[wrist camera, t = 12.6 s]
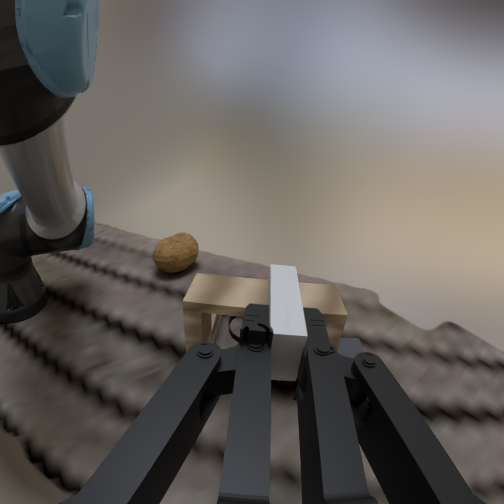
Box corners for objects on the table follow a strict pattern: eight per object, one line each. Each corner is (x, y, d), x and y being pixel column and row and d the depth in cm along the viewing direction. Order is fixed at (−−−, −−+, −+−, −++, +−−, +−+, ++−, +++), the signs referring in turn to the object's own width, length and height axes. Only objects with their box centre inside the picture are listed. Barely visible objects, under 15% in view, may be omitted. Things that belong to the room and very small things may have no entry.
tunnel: (189, 387, 36) (182, 300, 31) (213, 307, 56) (215, 238, 50) (320, 398, 36) (347, 314, 30) (306, 316, 55) (319, 247, 50)
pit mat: (321, 365, 42) (321, 363, 42) (316, 338, 49) (316, 336, 49) (368, 365, 42) (368, 363, 42) (358, 339, 49) (358, 338, 48)
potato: (142, 276, 65) (140, 244, 62) (174, 255, 77) (173, 227, 74) (177, 286, 62) (176, 252, 59) (206, 262, 75) (206, 233, 72)
